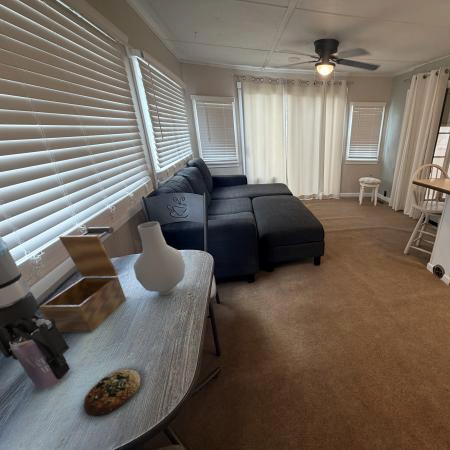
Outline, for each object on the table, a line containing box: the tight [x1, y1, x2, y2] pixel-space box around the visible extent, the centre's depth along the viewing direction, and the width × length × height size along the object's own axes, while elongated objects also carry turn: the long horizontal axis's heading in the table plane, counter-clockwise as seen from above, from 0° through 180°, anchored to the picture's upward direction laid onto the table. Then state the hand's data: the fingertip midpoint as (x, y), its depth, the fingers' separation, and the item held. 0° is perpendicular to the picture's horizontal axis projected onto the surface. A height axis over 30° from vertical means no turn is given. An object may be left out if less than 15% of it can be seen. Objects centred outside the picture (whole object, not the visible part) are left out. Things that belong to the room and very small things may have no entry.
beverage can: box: [9, 331, 69, 390], centre depth 58 cm, size 6×6×15 cm
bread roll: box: [83, 369, 141, 418], centre depth 57 cm, size 11×11×5 cm
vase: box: [133, 221, 186, 296], centre depth 90 cm, size 17×16×28 cm
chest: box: [38, 276, 127, 333], centre depth 80 cm, size 16×13×11 cm
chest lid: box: [58, 226, 119, 278], centre depth 85 cm, size 17×13×10 cm
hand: (50, 373), depth 60 cm, fingers closed on beverage can, 6 cm apart
